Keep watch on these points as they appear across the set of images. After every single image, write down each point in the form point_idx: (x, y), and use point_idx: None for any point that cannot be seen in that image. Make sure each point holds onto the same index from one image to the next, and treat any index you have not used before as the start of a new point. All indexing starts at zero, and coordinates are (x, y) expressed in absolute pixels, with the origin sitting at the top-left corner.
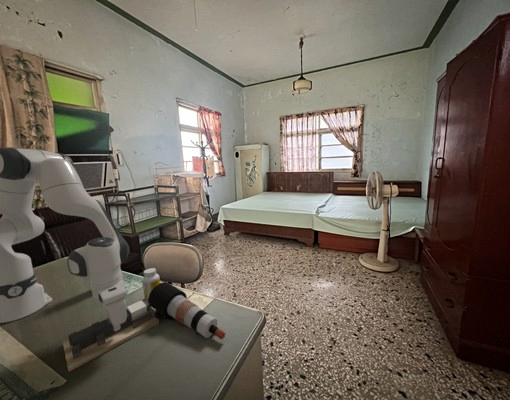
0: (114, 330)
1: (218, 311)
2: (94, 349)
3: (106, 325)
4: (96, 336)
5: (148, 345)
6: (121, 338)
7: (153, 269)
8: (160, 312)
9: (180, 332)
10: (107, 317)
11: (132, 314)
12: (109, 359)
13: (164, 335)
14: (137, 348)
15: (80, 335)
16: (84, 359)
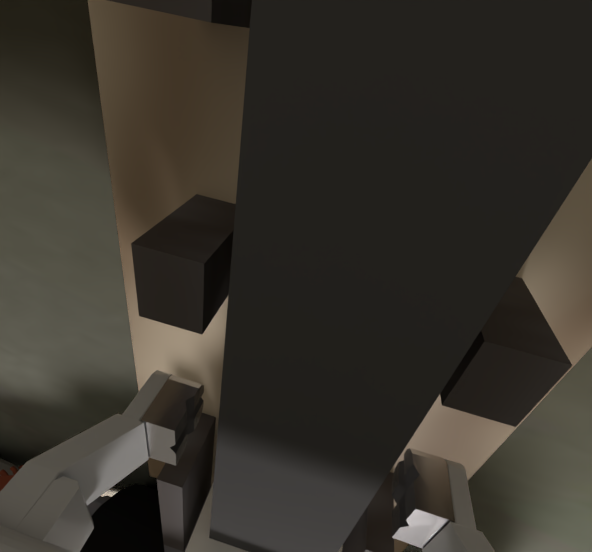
0: (150, 377)
1: None
2: (182, 151)
3: (223, 413)
4: (168, 256)
5: (18, 344)
6: (147, 330)
7: None
8: (128, 534)
9: (22, 432)
10: (453, 488)
11: (193, 536)
12: (32, 172)
13: (46, 407)
14: (29, 310)
15: (342, 113)
16: (92, 4)
